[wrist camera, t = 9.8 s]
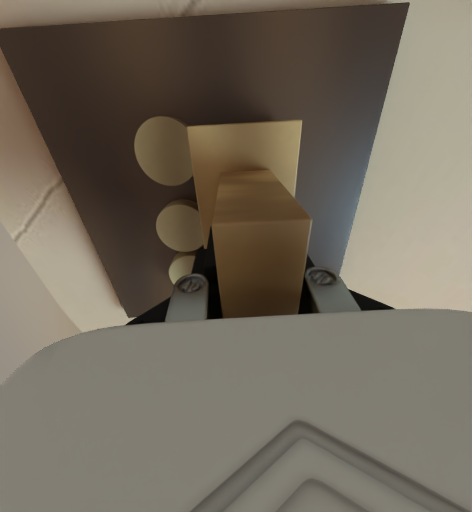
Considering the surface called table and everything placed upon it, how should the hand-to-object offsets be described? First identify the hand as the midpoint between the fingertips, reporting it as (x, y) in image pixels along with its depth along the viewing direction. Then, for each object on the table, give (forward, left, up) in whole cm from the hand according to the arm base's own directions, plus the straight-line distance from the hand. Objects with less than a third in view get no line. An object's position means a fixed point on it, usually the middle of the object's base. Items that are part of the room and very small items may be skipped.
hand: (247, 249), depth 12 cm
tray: (-2, 0, -5) cm, 6 cm away
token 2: (-4, 0, -4) cm, 6 cm away
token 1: (-4, +5, -4) cm, 8 cm away
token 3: (-4, -4, -4) cm, 7 cm away
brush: (0, 0, -4) cm, 4 cm away
